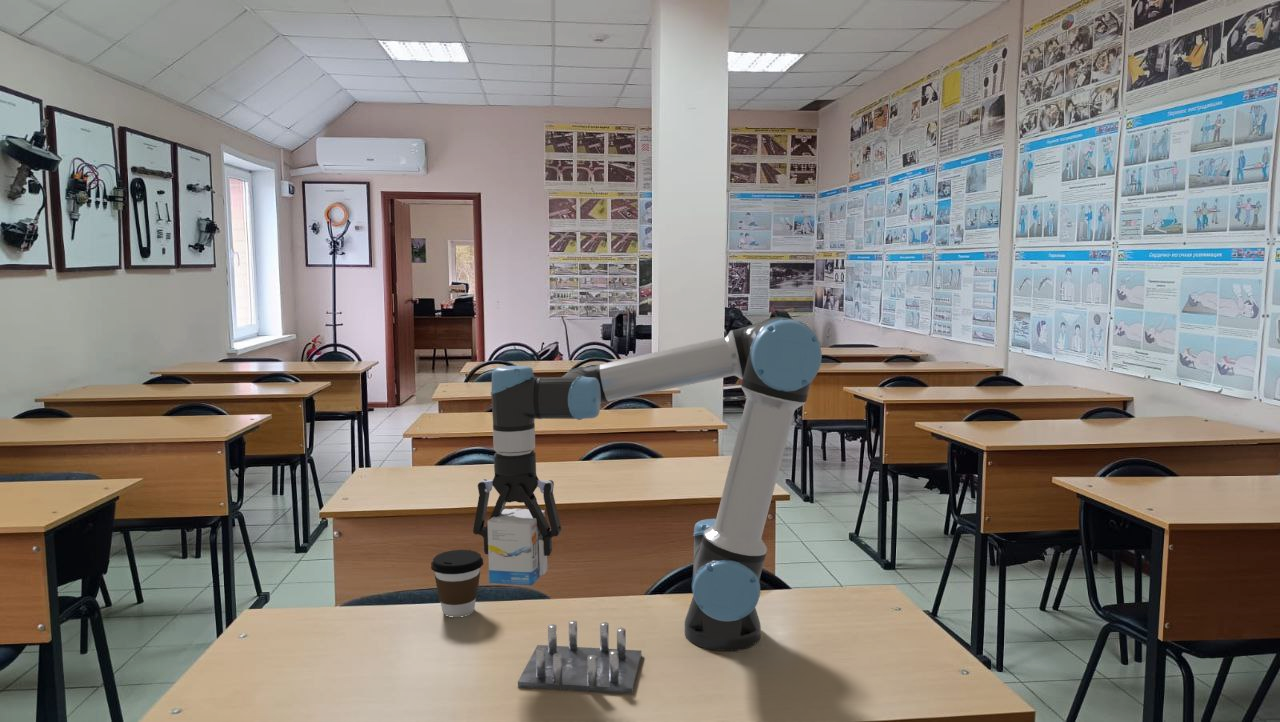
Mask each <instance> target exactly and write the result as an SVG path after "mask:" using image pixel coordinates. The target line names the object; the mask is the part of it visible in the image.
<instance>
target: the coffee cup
mask: <svg viewBox="0 0 1280 722" xmlns="http://www.w3.org/2000/svg"><path fill="white" fill-rule="evenodd" d="M483 565H484V559H483V557H482V555H481V554H480V553H479V552H477V551H474V550H471V549H456V550H454V549H453V550H449V551H444V552H441V553H438V554H436V555H435V556H434V557H433V558H432V561H431V562H430V568H431V570H432V571H433V572H434V579H435V585H436V590H437V595H438V596H437V597H438V600H439V602H440V606H441V611H442V613H443V615H444V614H445V615H448V616H453V617H461V616H465V615H468V614H470V615H472V613H473V612H474V610H475V607H476V600H477V597H478V591H479V585H480V578H481V577H480V575H481V568H482V567H483ZM445 615H444V616H445ZM468 616H469V615H468ZM465 617H466V616H465Z"/></svg>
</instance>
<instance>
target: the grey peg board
mask: <svg viewBox="0 0 1280 722" xmlns="http://www.w3.org/2000/svg"><path fill="white" fill-rule="evenodd" d="M609 624H610V623H609V622H607V621H603V622H600V624H599V642H600V644H599V647H587V646H586V647H585V646H584V647H583V646H578V621H577V620H570V621H569V622H568V645H566V646H563V645H558V643H557V642H558V641H557V636H558V633H557V630H558V629H557V625H556V624H549V625H547V645H546V644H545V645H544V644H537V645H536V647H535V649H534V651H533V653H532V654H531V656H530V658H529V660H528V662H527V664H526V665H525V667H524V670H523V671H522V673H521V675H520V677H519V679H518V680H517V688H523V689H524V688H525V689H540V690H541V689H542V690H556V691H557V690H559V691H575V692H589V693H591V692H592V693H603V694H604V693H605V694H606V693H607V694H622V695H633V693H634V688H635V685H636V679H637V677H638V671H639V667H640V663H641V660H642V650H640V649H639V650H638V649H636V650H635V649H626V644H627V643H626V640H627V639H626V637H627V635H626V628H624V627H618V628H617V629H616V648H610V647H609V646H610V645H609V644H610V643H609V642H610V641H609V633H610V632H609V630H610V627H609Z"/></svg>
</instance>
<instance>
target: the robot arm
mask: <svg viewBox="0 0 1280 722" xmlns="http://www.w3.org/2000/svg"><path fill="white" fill-rule="evenodd" d="M822 357H823V354H822V348H821V344H820V341H819V339H818V337H817V335H816V333H815V332H814V330H812V329H811V328H810V327H809V326H808V325H807V324H805V323H803V322H802V321H798V320H796V319H794V318H789V317H786V316H773V317H769V318H767V319H764V320H762V321H760V322H759V321H758V322H756V323H753V324H751V325H748V326H745V327H740V328H737V329H731V330H729V332H728V334H727V335H726V336H725V337H719V338H716V339H710V340H706V341H702V342H697V343H692V344H687V345H683V346H679V347H673V348H668V349H664V350H660V351H659V350H658V351H655V352H650V353H645V354H642V355H637V356H631V357H628V358H627V357H626V358H622V359H618V360H614V361H613V360H612V361H609V362H605V363H600V364H595V365H590V366H585V367H584V366H580V367H576V368H572V369H570V370H568V371H567V372H566V373H565V374H564V375H562V376H558V377H557V376H556V377H555V376H554V377H553V376H551V377H541V376H540V377H539V376H535V374H534V370H533V367H531V366H528V365H505V366H499V367H496V368H495V369H493V371H492V372H491V391H490V396H491V411H492V438H493V439H492V441H493V443H492V444H493V451H494V452H495V453H494V454H493V468H494V469H493V470H494V472H493V473H494V475H493V476H494V477H493V478H492V479H489V480H487V479H485V478H484V479H483V480H481V481H480V482H478V483H477V488H478V501H477V505H476V511H475V512H476V513H475V517H474V524H473V530H472V533H473V534H474V535H479V536H481V537H482V538H483V553H484V554H485V555H488V522H487V524H486V526H485V522H486V518H487V517H486V516H487V510H488V505H489V500H490V499H489V498H490V492H491V491H492V490H493V488H494V489H495V490H496V492H497V493H498V494H499V495H498V499H497V500H496V502H495V506H494V508H493V510H492V512H491V514H490V517H489V519H491V518H492V517H498V516H499V515H500V514H501V513H502V511H503V510H504V509H505V506H506V504H507V503H514V502H516V503H521V504H524V506H525V507H526V509H529V511H530V513H531V515H532V517H533V518H536V520H537V527H538V529H539V531H540V533H541V535H542V537H541V538H540V539H539V565H540V575H541V576H544V575H545V574H546V572H547V571H548V556H551V554H552V552H553V541H552V540H553V539H552V538H553V537H558V536H559V535H560V533H561V532H562V524H561V521H560V516H559V513H558V509H557V504H556V500H555V495H554V487H555V486H554V485H555V483H554V481H553V480H552V479H550V480H548V481H547V480H541V479H539V478H538V476H537V457H536V452H535V450H534V449H535V448H536V426H535V419H536V420H537V419H538V420H544V419H545V420H547V419H549V420H550V419H551V420H552V419H553V420H556V419H557V420H559V419H560V420H561V419H562V420H577V421H578V420H579V421H581V420H583V419H587V420H588V419H595V418H598V416H599V414H600V410H601V404H605V403H608V402H612V401H618V400H623V399H627V398H630V397H631V398H632V397H637V396H641V395H646V394H647V395H648V394H651V393H656V392H660V391H666V390H669V389H675V388H679V387H684V386H689V385H695V384H699V383H704V382H710V381H714V380H718V379H724V378H729V377H732V376H733V377H737V378H738V379H740V380H742V381H741V384H740V388H741V389H742V391H743V393H744V395H745V398H746V400H745V403H744V406H743V407H744V408H743V412H742V415H741V419H740V423H739V428H738V432H737V435H736V440H735V443H734V447H733V451H732V455H731V459H730V463H729V467H728V470H727V471H728V472H727V475H726V478H725V483H724V486H723V490H722V495H721V498H720V503H719V506H718V511H717V515H716V518H706V519H702V520H699V521H698V522H696V523H695V525H694V528H693V534H692V537H693V567H692V568H693V569H692V580H691V592H692V595H693V596H692V598H691V601H690V604H689V607H688V610H687V613H686V616H685V619H684V636H685V637H686V639H687V640H688V641H689V642H691V643H692V644H695V645H696V646H699V647H701V648H704V649H709V650H713V651H714V650H715V651H723V652H724V651H725V652H726V651H737V650H739V651H740V650H743V649H748V648H750V647H752V646H754V645H755V644H757V643H758V642H759V641H760V640H761V637H762V636H761V634H762V632H761V629H762V628H761V627H762V626H761V621H760V618H759V615H758V611H757V608H756V607H757V605H758V602H759V599H760V597H761V584H760V580H761V574H762V571H763V567H764V563H765V560H766V556H767V552H768V548H767V546H766V544H765V543H764V541H763V539H762V538H763V533H764V529H765V525H766V522H767V517H768V514H769V510H770V506H771V502H772V498H773V494H774V491H775V487H776V483H777V478H778V476H779V472H780V469H781V466H782V465H781V464H782V460H783V456H784V452H785V449H786V445H787V441H788V437H789V433H790V429H791V427H792V426H791V425H792V421H793V418H794V415H795V411H796V410H797V409H798V408H801V407H802V406H803V405H805V404H806V403H807V400H808V396H809V391H810V389H811V388H810V387H811V384H812V382H813V380H814V379H815V378H816V376H817V375H818V372H819V370H820V367H821V364H822ZM537 488H538V489H539V490H540V491H539V492H540V493H541V494H542V495H543V501H544V506H545V511H546V514H547V518H548V520H547V519H546V516H545V517H544V515H543V513H542V511H541V510H542V509H541V507H540V505H539V503H538V501H537V497H536V495H535V494H534V493H535V491H536V489H537ZM548 521H549V522H548Z"/></svg>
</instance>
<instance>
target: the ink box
mask: <svg viewBox="0 0 1280 722" xmlns="http://www.w3.org/2000/svg"><path fill="white" fill-rule="evenodd" d="M541 511H542V513H543V515H544V517H545V518H546V514H545V513H546V509H545V510H543V509H541ZM487 523H488V554H487V555H488V557H487V558H488V584H499V585H512V586H513V585H517V586H533V585H534V584H535V583H536V582H537V581H538V579H540V577H541V576H542V575H540V565H539V539H540V538H541V537H542V535H541V533H540V531H539V529H538V527H537V520H536V518H533V517H532V515H531V513H530V511H529V509H528V508H504V509H503V511H502V513H501V514H500V515H499V516H498V517H492V518H491V519H490V518H489V519H488V520H487Z"/></svg>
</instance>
